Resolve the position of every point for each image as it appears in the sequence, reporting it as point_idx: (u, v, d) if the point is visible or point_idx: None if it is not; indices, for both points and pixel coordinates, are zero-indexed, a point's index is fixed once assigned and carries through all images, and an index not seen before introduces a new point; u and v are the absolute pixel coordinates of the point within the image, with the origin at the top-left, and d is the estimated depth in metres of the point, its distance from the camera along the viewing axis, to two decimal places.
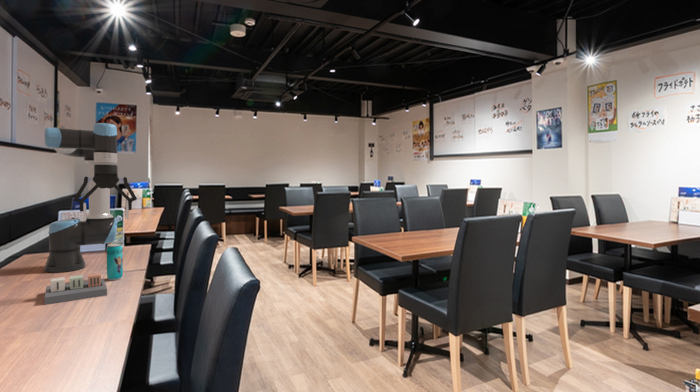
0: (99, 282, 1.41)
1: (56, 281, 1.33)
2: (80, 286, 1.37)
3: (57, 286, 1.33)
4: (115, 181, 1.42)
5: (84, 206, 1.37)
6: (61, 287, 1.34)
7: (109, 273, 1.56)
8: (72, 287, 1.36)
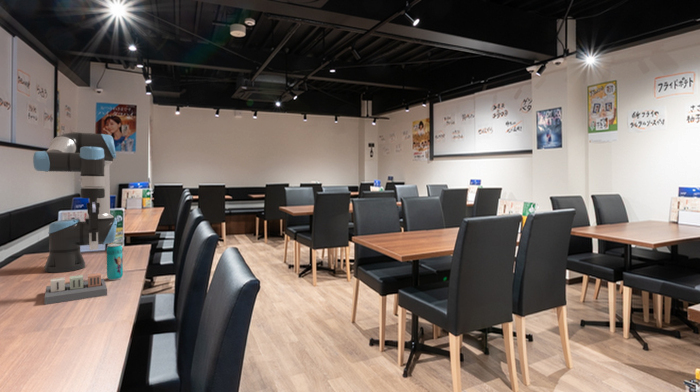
0: (99, 282, 1.41)
1: (56, 281, 1.33)
2: (80, 286, 1.37)
3: (57, 286, 1.33)
4: (89, 204, 1.37)
5: (89, 235, 1.40)
6: (61, 287, 1.34)
7: (109, 273, 1.56)
8: (72, 287, 1.36)
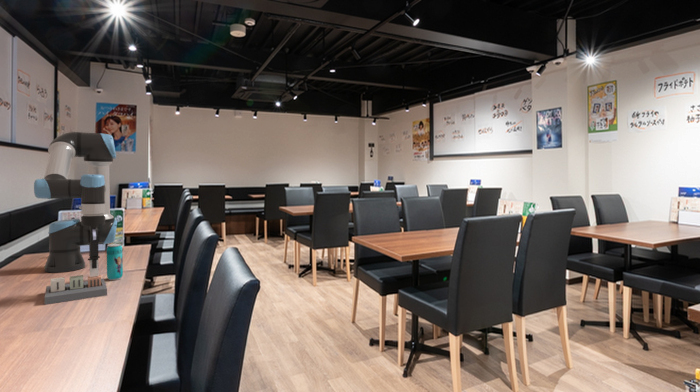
0: (99, 284, 1.41)
1: (56, 281, 1.33)
2: (80, 286, 1.37)
3: (57, 286, 1.33)
4: None
5: None
6: (61, 287, 1.34)
7: (109, 273, 1.56)
8: (72, 287, 1.36)
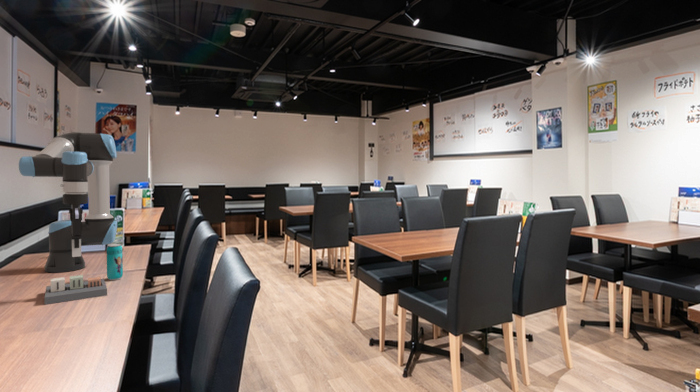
0: None
1: (56, 281, 1.33)
2: (80, 286, 1.37)
3: (57, 286, 1.33)
4: (72, 211, 1.34)
5: (71, 242, 1.37)
6: (61, 287, 1.34)
7: (109, 273, 1.56)
8: (72, 287, 1.36)
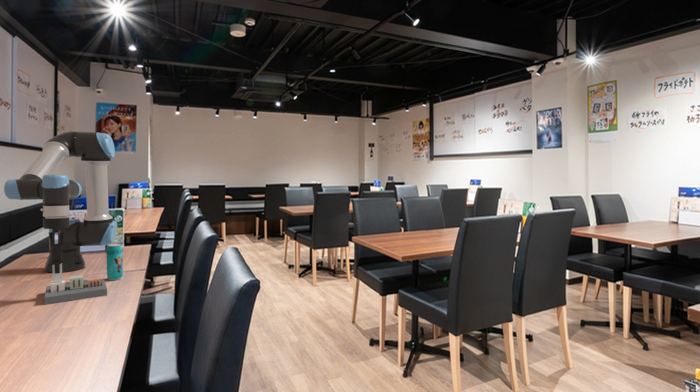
0: None
1: (56, 284, 1.33)
2: (80, 286, 1.37)
3: (57, 288, 1.33)
4: None
5: None
6: (61, 290, 1.34)
7: (109, 273, 1.56)
8: (72, 287, 1.36)
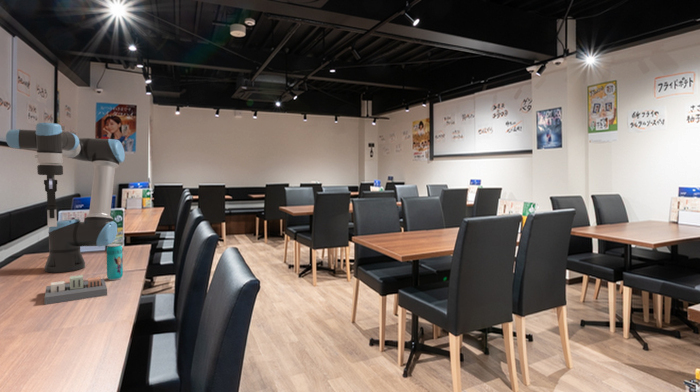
0: None
1: (56, 285, 1.33)
2: (80, 286, 1.37)
3: (57, 290, 1.33)
4: (46, 181, 1.37)
5: (47, 212, 1.40)
6: None
7: (109, 273, 1.56)
8: (72, 287, 1.36)
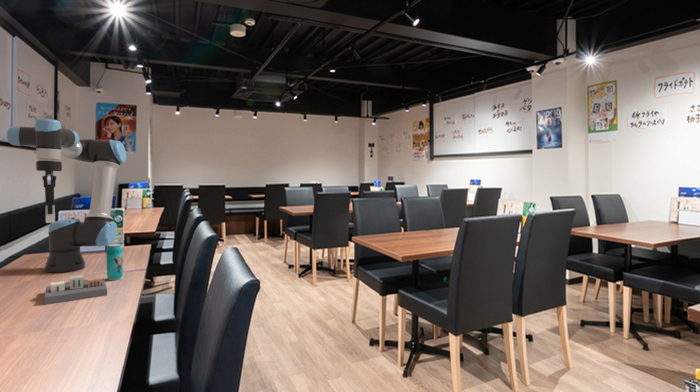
0: None
1: (56, 285, 1.33)
2: (80, 286, 1.37)
3: (57, 290, 1.33)
4: None
5: None
6: None
7: (109, 273, 1.56)
8: (72, 287, 1.36)
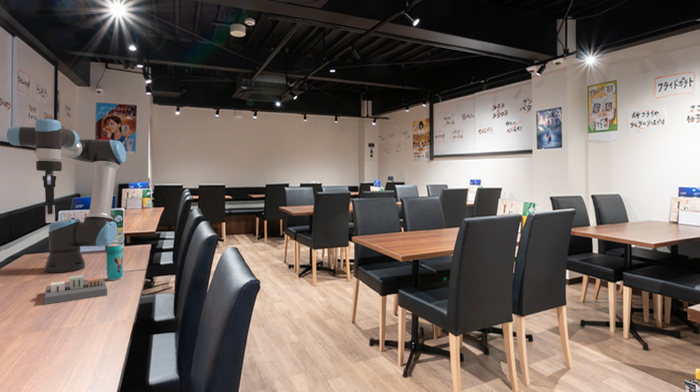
0: None
1: (56, 285, 1.33)
2: (80, 286, 1.37)
3: (57, 290, 1.33)
4: None
5: (45, 208, 1.40)
6: None
7: (109, 273, 1.56)
8: (72, 287, 1.36)
